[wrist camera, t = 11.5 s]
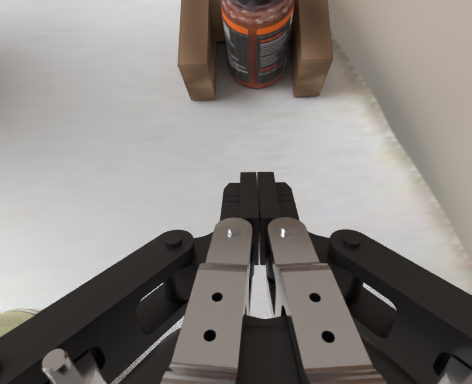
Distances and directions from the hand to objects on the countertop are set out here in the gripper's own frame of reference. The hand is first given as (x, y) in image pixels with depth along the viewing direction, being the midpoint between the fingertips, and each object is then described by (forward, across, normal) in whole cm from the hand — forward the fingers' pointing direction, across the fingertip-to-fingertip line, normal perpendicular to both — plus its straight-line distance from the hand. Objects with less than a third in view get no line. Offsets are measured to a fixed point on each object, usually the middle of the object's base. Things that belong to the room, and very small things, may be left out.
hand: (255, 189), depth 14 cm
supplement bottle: (+22, -1, -2) cm, 22 cm away
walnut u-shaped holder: (+23, 0, -3) cm, 23 cm away
